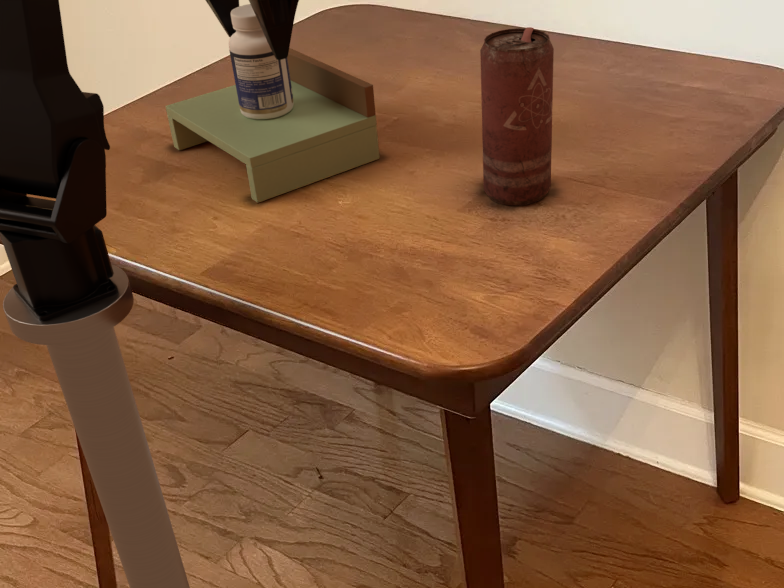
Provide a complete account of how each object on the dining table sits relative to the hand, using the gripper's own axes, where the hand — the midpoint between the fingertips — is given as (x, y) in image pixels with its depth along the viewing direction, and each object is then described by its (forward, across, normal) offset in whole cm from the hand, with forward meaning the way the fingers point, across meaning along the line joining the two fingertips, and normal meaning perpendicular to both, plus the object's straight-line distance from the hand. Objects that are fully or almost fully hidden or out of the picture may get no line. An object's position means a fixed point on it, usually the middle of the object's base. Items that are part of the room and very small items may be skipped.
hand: (257, 47), depth 98 cm
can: (+11, -24, -12) cm, 29 cm away
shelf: (+11, 0, 0) cm, 11 cm away
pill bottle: (+6, 0, 0) cm, 6 cm away
